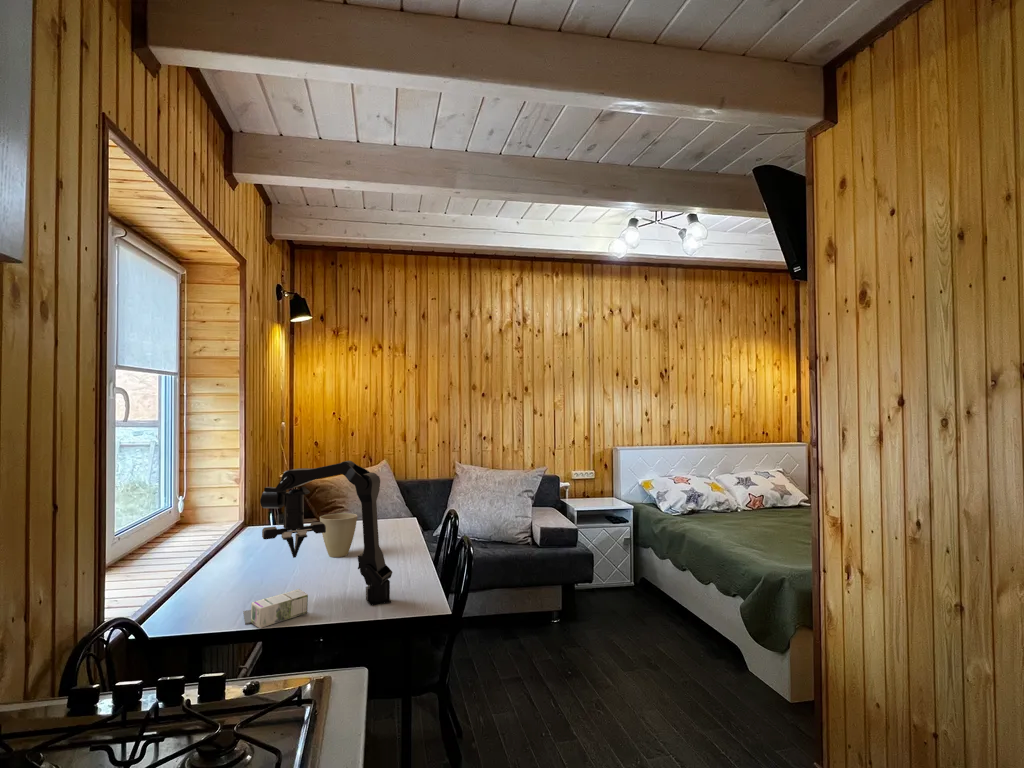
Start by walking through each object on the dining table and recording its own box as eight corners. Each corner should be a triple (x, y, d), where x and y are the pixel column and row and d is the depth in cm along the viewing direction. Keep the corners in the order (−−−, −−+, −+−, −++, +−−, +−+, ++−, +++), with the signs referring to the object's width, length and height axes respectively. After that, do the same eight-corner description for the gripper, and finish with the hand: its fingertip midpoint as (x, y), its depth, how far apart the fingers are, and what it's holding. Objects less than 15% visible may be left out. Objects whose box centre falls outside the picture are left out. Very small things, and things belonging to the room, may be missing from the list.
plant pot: (364, 554, 240) (364, 515, 240) (331, 561, 229) (331, 521, 230) (344, 549, 250) (345, 511, 251) (312, 555, 239) (313, 516, 240)
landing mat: (293, 604, 179) (293, 603, 179) (298, 616, 169) (298, 614, 169) (243, 612, 172) (243, 610, 172) (245, 624, 163) (245, 623, 163)
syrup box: (298, 588, 174) (250, 601, 163) (308, 594, 170) (259, 608, 159) (298, 607, 174) (249, 621, 163) (308, 613, 170) (259, 629, 159)
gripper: (319, 502, 199) (320, 548, 198) (260, 507, 190) (260, 556, 190) (325, 506, 189) (326, 555, 189) (263, 512, 181) (263, 563, 180)
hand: (294, 557), depth 187 cm, fingers closed
